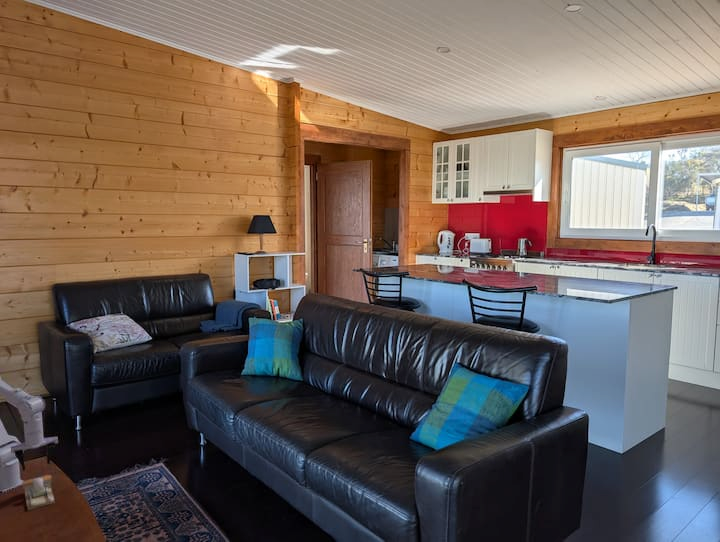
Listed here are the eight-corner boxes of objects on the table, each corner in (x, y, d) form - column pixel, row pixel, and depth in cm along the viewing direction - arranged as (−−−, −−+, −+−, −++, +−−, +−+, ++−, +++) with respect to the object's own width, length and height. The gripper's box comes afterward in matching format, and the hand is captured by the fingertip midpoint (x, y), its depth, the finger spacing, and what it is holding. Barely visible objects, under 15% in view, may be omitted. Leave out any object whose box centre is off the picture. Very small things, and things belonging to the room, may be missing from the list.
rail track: (24, 492, 191) (23, 481, 191) (49, 485, 196) (49, 474, 195) (27, 510, 180) (27, 498, 180) (54, 502, 185) (53, 490, 184)
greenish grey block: (31, 493, 189) (30, 479, 188) (44, 489, 191) (43, 476, 190) (32, 497, 186) (31, 483, 185) (45, 493, 188) (44, 480, 188)
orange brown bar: (22, 486, 190) (22, 482, 190) (51, 478, 195) (50, 475, 195) (23, 489, 188) (22, 485, 188) (51, 481, 193) (51, 477, 193)
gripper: (10, 439, 182) (13, 476, 183) (58, 429, 190) (60, 464, 192) (9, 432, 187) (12, 468, 189) (55, 423, 196) (57, 457, 198)
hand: (36, 466), depth 191 cm, fingers open, 7 cm apart
